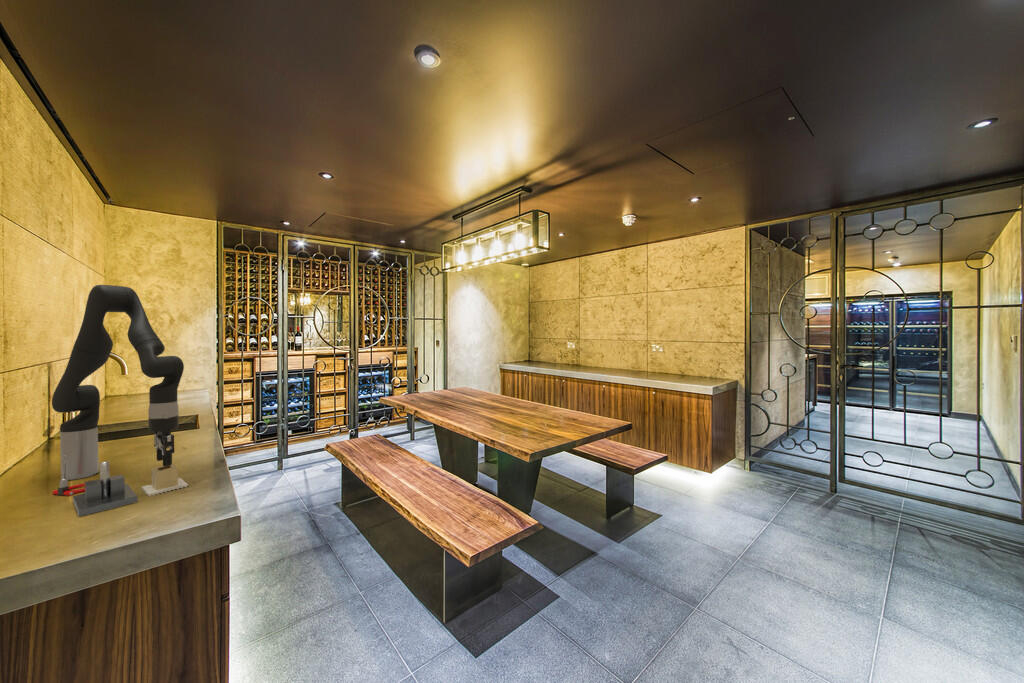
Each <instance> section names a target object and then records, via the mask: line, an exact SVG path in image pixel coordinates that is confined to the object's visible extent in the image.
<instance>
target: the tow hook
mask: <svg viewBox="0 0 1024 683" xmlns="http://www.w3.org/2000/svg"><path fill="white" fill-rule="evenodd" d="M68 481H69V480H68V479H67V455H63V462H62V472H61V471H60V479H59V487H57V489H54V490H52V494H51V495H55V494H56V496H57V495H58V496H63V495H65V496H68V497H69V496H70V497H71V496H72V497H73V496H74V495H76V494H79V493H80V494H81V493H83V492H84V493H85V487H82V486H85V484H84V483H79V484H73V485H69V486H68V484H69V483H68ZM78 487H79V488H78Z"/></svg>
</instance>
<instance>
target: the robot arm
mask: <svg viewBox="0 0 1024 683" xmlns="http://www.w3.org/2000/svg"><path fill="white" fill-rule="evenodd" d="M107 313H125V314H126V315H127V316H128V317H129V320H130V324H129V326H128V329H127V330H128V331H127V338H128V340H129V343H130V345H132V347H133V348H134V350H135V352H136V353H137V355H138V360H139V363H140V370H141V372H142V373H143V375H144V376H146V377H148V378H150V379H158V378H163V379H162V381H161V382H160V383H158V384H155V385H152V386H150V387H149V392H148V394H149V398H148V399H149V400H148V401H149V405H148V431H149V432H152V433H154V436H153V437H154V438H153V440H154V442H153V443H154V444H153V446H154V450H155V451H156V461H158V462H161V461H162V466H170V465H172V464H173V454H174V453H175V435H174V434H172V433H171V432H172V431H173V430H176V429H177V428H179V426H180V425H179V424H180V423H179V418H180V417H179V415H180V414H179V413H180V412H179V404H178V389H179V386H180V383H181V379H182V376H183V373H184V369H185V365H184V362H183V360H182V359H181V358H180V357H179V356H177V355H164V356H160V355H162V354H163V353H164V352H165V350H166V348H165V345H164V344H163V341H162V340H161V339H160V338H159V336H158V334H157V333H156V332H155V331H154V328H153V327H152V325H151V324H150V321H149V319H148V316H147V314H146V311H145V309H144V306H143V305H142V302H141V299H140V297H139V295H138V294H137V292H136V291H135V290H134V289H133V288H132V287H130V286H129V287H128V286H123V285H111V284H96V285H95V286H93V287H92V288H91V290H90V291H89V293H88V297H87V300H86V305H85V310H84V315H83V319H82V322H81V326H80V329H79V332H78V334H77V336H76V339H75V341H74V344H73V346H72V350H71V352H70V357H69V359H68V362H67V365H66V366H65V370H64V372H63V375H62V376H61V378H60V380H59V382H58V384H57V386H56V387H55V390H54V392H53V394H52V397H51V406H52V409H53V410H54V411H55V412H57V413H61V414H62V413H63V414H64V413H73V412H79V413H78V414H77V415H76V416H74V417H73V418H70V419H68V420H66V421H64V422H61V424H60V425H59V436H60V437H59V438H60V439H59V440H60V442H59V443H60V444H59V445H60V473H61V472H62V462H63V455H67V479H68V481H72V480H79V479H80V480H81V479H85V478H89V477H92V476H95V475H97V474H98V472H99V473H100V462H99V461H100V460H99V431H98V430H99V429H98V428H99V425H98V424H99V420H100V404H101V396H100V395H101V394H100V391H99V388H98V387H97V386H96V385H94V384H85V385H83V384H82V382H83V381H84V380H85V379H87V378H88V377H89V376H90V375H92V374H94V373H95V372H96V371H98V370H99V369H100V368H101V367H103V366H104V365H105V364H106V362H108V360H109V358H110V356H111V352H112V350H113V347H114V341H113V339H112V337H111V336H110V334H109V332H108V331H107V329H106V327H105V325H104V322H105V316H106V314H107ZM81 384H82V385H81ZM167 449H168V450H167ZM96 473H97V474H96ZM94 474H95V475H94Z"/></svg>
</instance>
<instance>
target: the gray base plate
mask: <svg viewBox="0 0 1024 683" xmlns="http://www.w3.org/2000/svg"><path fill="white" fill-rule="evenodd" d="M83 484H85V487H84V488H85V492H84V493H80V494H74V495H72V502H73V505H74V508H75V511H76V513H77V516H78V517H79V518H81V517H85V516H89V515H93V514H97V513H100V511H101V512H104V510H105V511H108V509H109V510H112V508H113V509H116V507H117V508H120V506H121V507H124V505H125V506H127V504H129V505H132V504H131V503H133V504H135V503H134V502H137V503H138V495H137V493H135V492H134V490H133V489H132V488H131V486H129V484H128V483H126V484H125V477H124V475H123V474H121V473H120V474H118V475H112V476H110V461H109V460H107V461H106V460H105V461H101V462H99V478H97V479H93V480H88V481H84V483H83ZM96 512H97V513H96ZM92 513H93V514H92ZM84 515H85V516H84ZM80 516H81V517H80Z"/></svg>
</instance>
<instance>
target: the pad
mask: <svg viewBox="0 0 1024 683" xmlns="http://www.w3.org/2000/svg"><path fill="white" fill-rule="evenodd" d="M187 486H188V487H189V484H188V483H187V482H186V481H184V480H183V479H182V478H181V477H178V485H175V486H171V487H167V488H162V489H158V490H155V489H154V488H153V487H152V483H151V484H146V485H143V486H141V490H142V489H143V490H144V491H145V492H144V491H143V490H142V491H143V492H144V493H145V494H147V495H148V496H149V497H152V496H151V495H153V496H156V495H155V494H157V495H160V494H159V493H161V494H164V493H163V492H165V493H168V492H167V491H169V492H172V491H171V490H173V491H176V490H175V489H177V490H180V489H179V488H181V489H184V488H183V487H185V488H188V487H187ZM147 495H146V496H147ZM148 496H147V497H148Z"/></svg>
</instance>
